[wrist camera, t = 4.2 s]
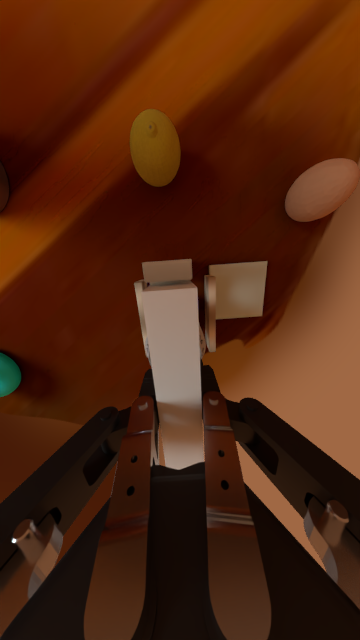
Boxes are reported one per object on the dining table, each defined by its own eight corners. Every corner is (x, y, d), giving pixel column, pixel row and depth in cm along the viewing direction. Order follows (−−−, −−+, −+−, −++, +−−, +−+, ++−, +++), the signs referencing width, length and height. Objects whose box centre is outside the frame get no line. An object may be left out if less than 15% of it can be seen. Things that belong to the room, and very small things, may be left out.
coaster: (208, 265, 27) (209, 265, 26) (264, 261, 26) (267, 261, 26) (209, 318, 30) (210, 319, 29) (259, 314, 29) (262, 316, 29)
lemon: (139, 142, 21) (119, 77, 14) (182, 149, 22) (185, 89, 14) (138, 193, 23) (119, 160, 16) (177, 199, 23) (177, 169, 16)
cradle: (137, 263, 26) (53, 269, 8) (210, 258, 26) (281, 252, 8) (151, 356, 32) (118, 477, 14) (210, 352, 32) (254, 469, 14)
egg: (267, 218, 24) (309, 198, 17) (287, 173, 23) (345, 126, 15) (300, 232, 25) (356, 219, 17) (322, 189, 23) (396, 152, 15)
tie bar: (150, 284, 10) (140, 291, 7) (191, 281, 10) (197, 287, 7) (171, 449, 15) (169, 494, 12) (199, 447, 15) (204, 491, 12)
